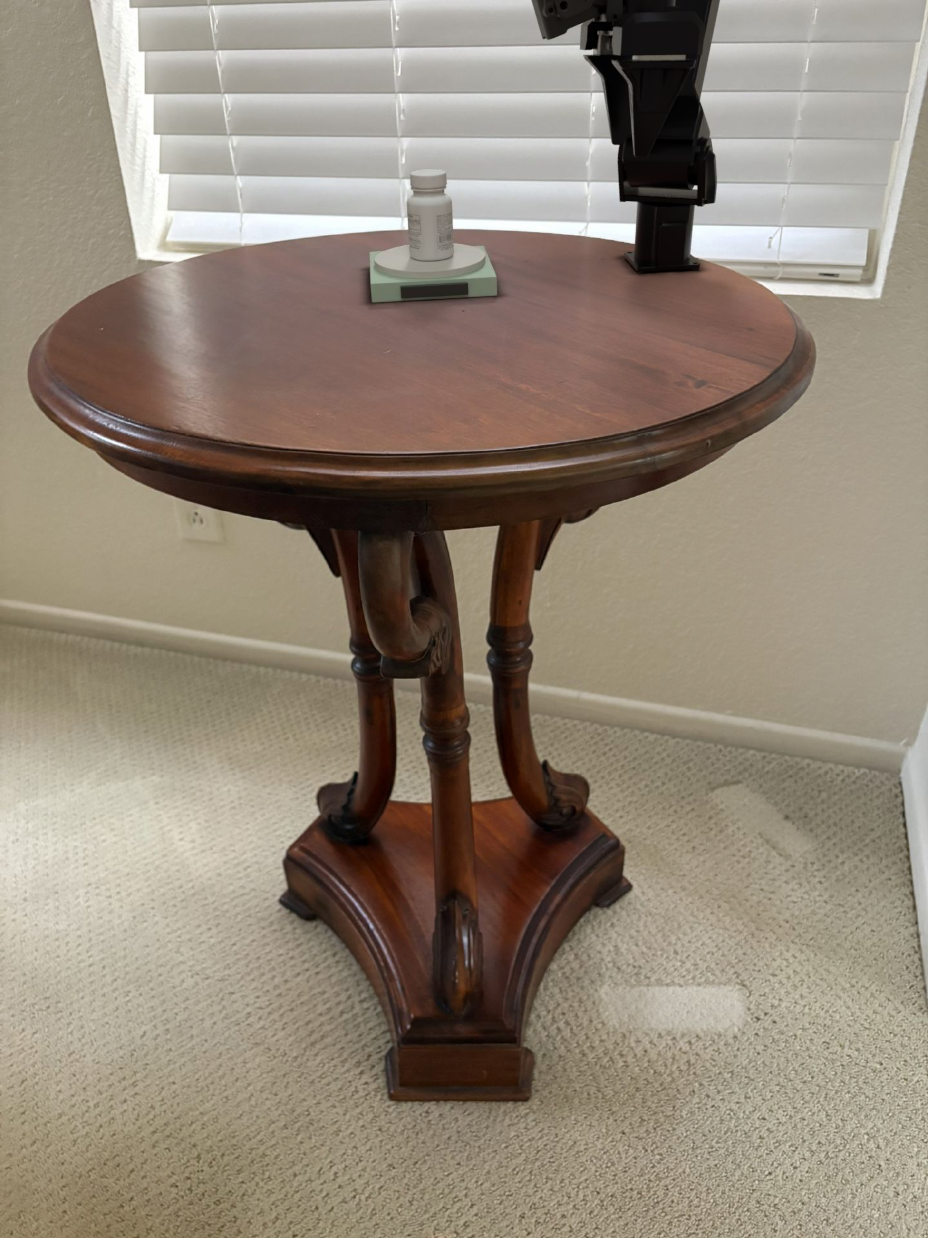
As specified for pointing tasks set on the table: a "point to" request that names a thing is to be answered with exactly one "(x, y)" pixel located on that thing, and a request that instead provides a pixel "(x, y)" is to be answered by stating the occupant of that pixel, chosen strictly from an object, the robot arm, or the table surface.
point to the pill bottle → (430, 216)
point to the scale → (431, 275)
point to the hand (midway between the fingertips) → (628, 150)
